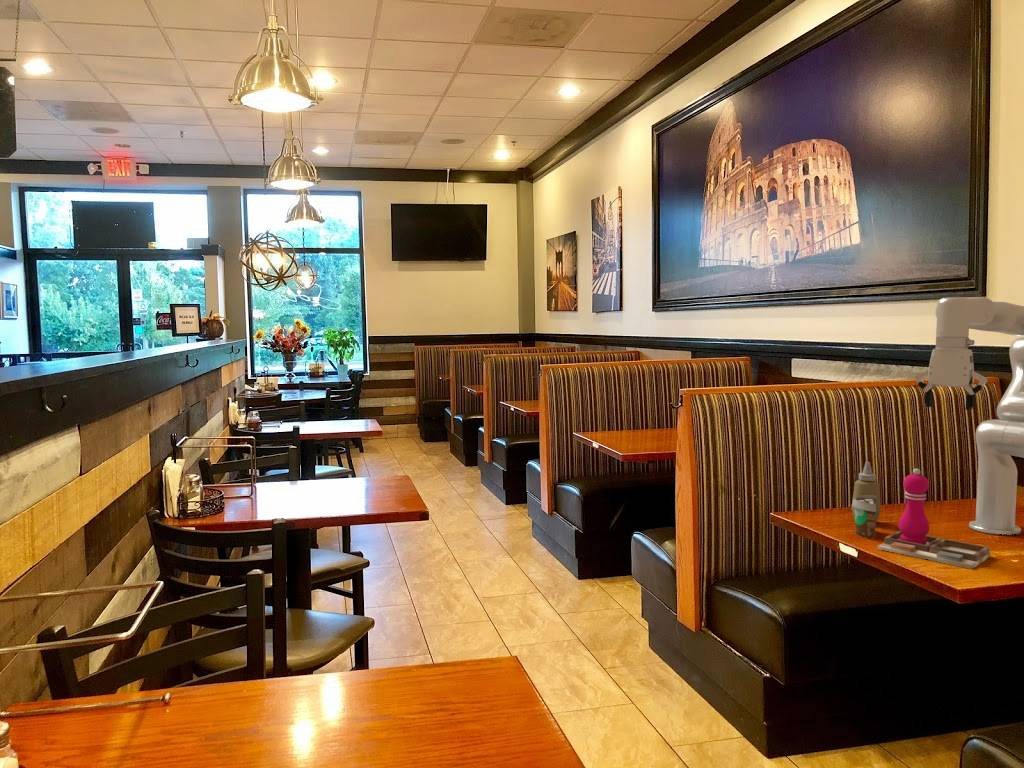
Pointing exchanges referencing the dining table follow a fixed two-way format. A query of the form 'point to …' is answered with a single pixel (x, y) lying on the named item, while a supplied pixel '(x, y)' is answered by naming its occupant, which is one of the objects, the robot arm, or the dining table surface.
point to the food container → (865, 515)
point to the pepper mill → (914, 509)
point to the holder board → (938, 550)
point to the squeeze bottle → (867, 487)
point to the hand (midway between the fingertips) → (948, 408)
